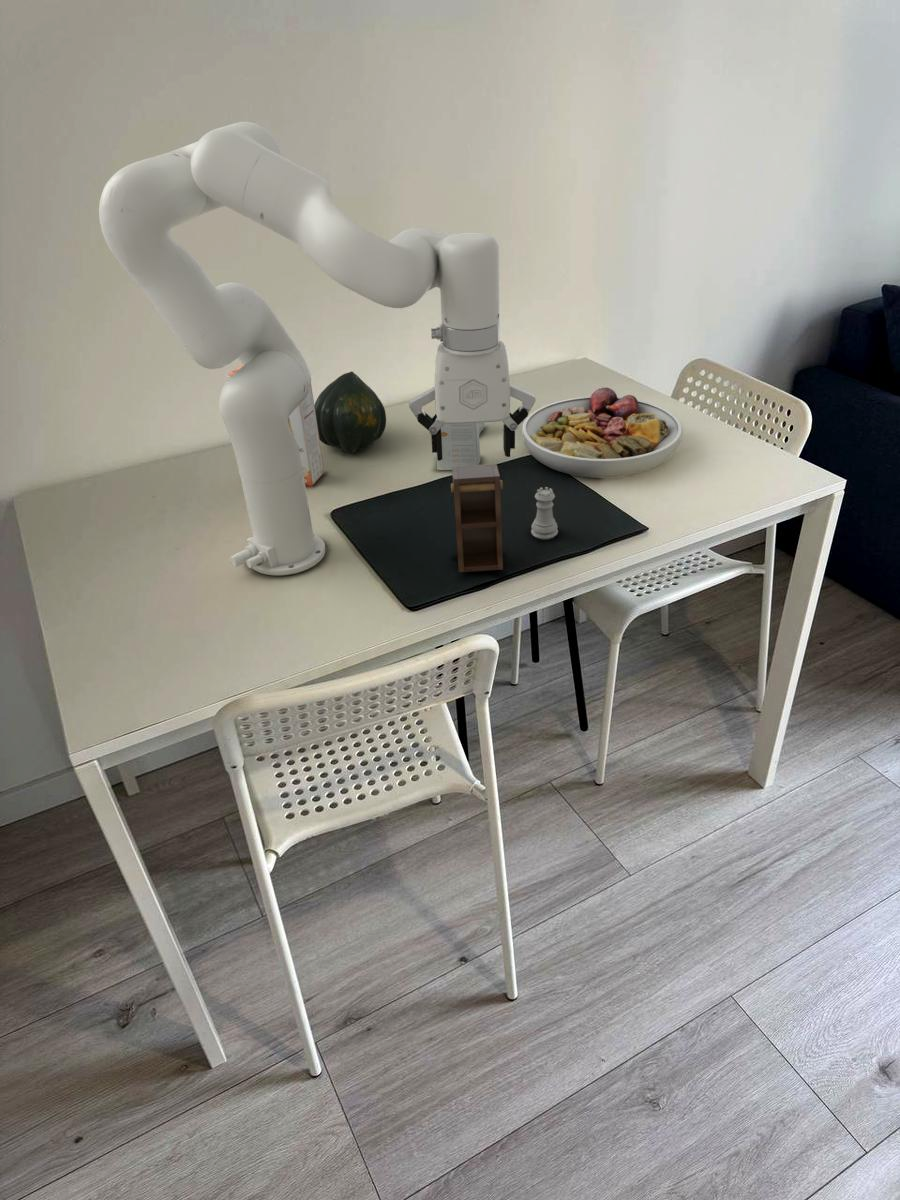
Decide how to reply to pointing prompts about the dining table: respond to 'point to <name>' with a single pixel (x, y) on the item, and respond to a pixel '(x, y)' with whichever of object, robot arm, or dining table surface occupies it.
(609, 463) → the bowl
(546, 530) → the rook chess piece
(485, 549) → the brown wooden shelf box
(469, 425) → the small box
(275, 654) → the dining table surface
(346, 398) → the squash
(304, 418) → the cracker box
